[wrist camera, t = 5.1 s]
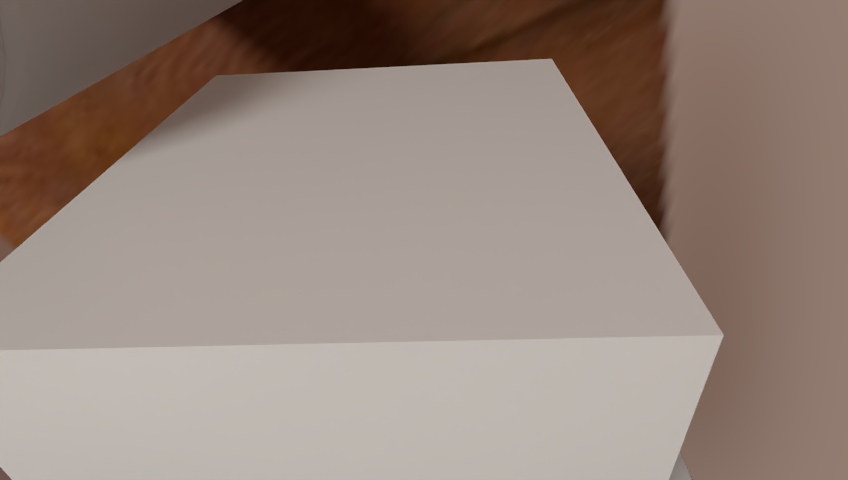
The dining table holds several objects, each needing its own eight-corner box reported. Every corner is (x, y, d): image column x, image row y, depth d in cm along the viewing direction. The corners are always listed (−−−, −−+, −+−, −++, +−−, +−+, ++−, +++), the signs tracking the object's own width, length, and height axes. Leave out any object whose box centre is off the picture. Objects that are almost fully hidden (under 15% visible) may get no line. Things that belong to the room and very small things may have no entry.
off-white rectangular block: (215, 75, 11) (-104, 352, 5) (551, 58, 11) (723, 335, 4) (310, 407, 17) (232, 722, 11) (523, 404, 17) (574, 728, 10)
